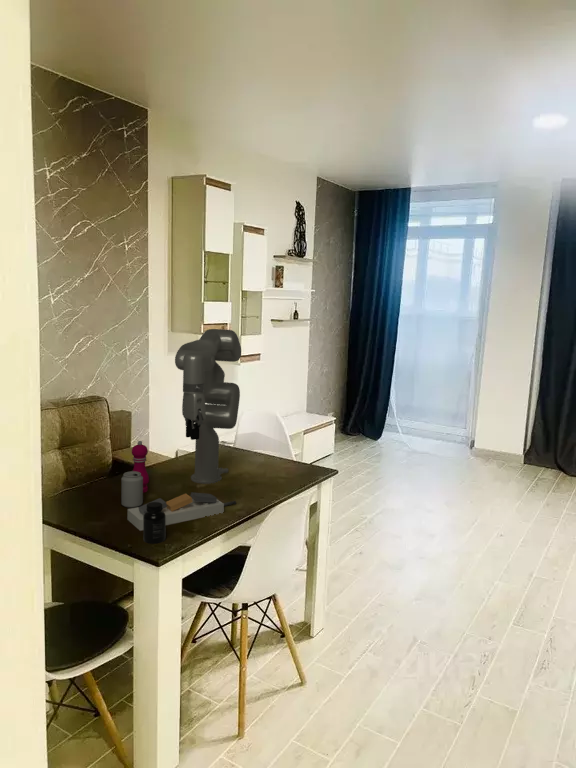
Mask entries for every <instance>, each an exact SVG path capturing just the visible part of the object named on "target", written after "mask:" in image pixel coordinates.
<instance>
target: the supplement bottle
mask: <svg viewBox="0 0 576 768" xmlns="http://www.w3.org/2000/svg"><path fill="white" fill-rule="evenodd" d="M150 502H151V503H149V502H147V503H148V504H147V503H146V504H147V509H146V511H147V512H146V513H145V514H144V516H143V530H142V531H143V533H142V534H143V535H142V537H143V542H144V543H145V544H149V545H155V544H156V545H157V544H161V543H163V542H165V541H166V539H167V538H166V536H167V533H166V529H167V528H166V526H167V525H166V515H165V513H164V512H163V511H162V510H163V508H162V503H160V502H152V501H150Z"/></svg>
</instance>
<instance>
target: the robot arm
mask: <svg viewBox="0 0 576 768" xmlns="http://www.w3.org/2000/svg"><path fill="white" fill-rule="evenodd" d="M241 356H242V345H241V343H240V340H239V336H238V334H237V333H236V331H234V330H232V329H223V328H222V329H221V328H211V329H210V328H209V329H207V330H205V331H204V332H203V333H202V335H201V336H200V338H199V339H196V340H192V341H190V342H186V343H184V344H182V345H181V346H180V347H179V348H178V350H177V352H176V353H175V356H174V364H175V367H176V368H177V369H178V370H180V371H182V372H183V374H182V375H183V376H182V393H183V396H182V406H181V410H182V411H181V413H182V416H183V419H184V421H185V437H186V438H190V440H191V441H195V443H194V444H195V445H194V446H195V447H194V448H195V450H194V452H195V454H194V473H193V474H192V475H190V480H191V481H192V482H193V483H197V484H205V485H210V484H211V483H212V484H216V482H217V483H219V482H221V481H222V479H223V478H222V474H227V473H229V468H228V467H226V468H225V467H224V468H223V467H219V450H220V449H219V448H220V446H219V445H220V438H219V435H218V433H217V431H216V430H215V429H220V430H221V429H224V430H230V429H231V430H232V429H234V428H235V427H236V425H237V422H238V421H237V420H238V414H239V405H240V397H241V390H240V386H239V385H238V384H237V383H234V382H228V381H227V382H226V381H225V376H226V374H225V370H223V368H222V367H221V365H220V364H218V363H217V362H230V363H231V362H232V363H234V362H238V361H240V359H241ZM220 480H221V481H220ZM218 481H219V482H218ZM212 484H211V485H212Z"/></svg>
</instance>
